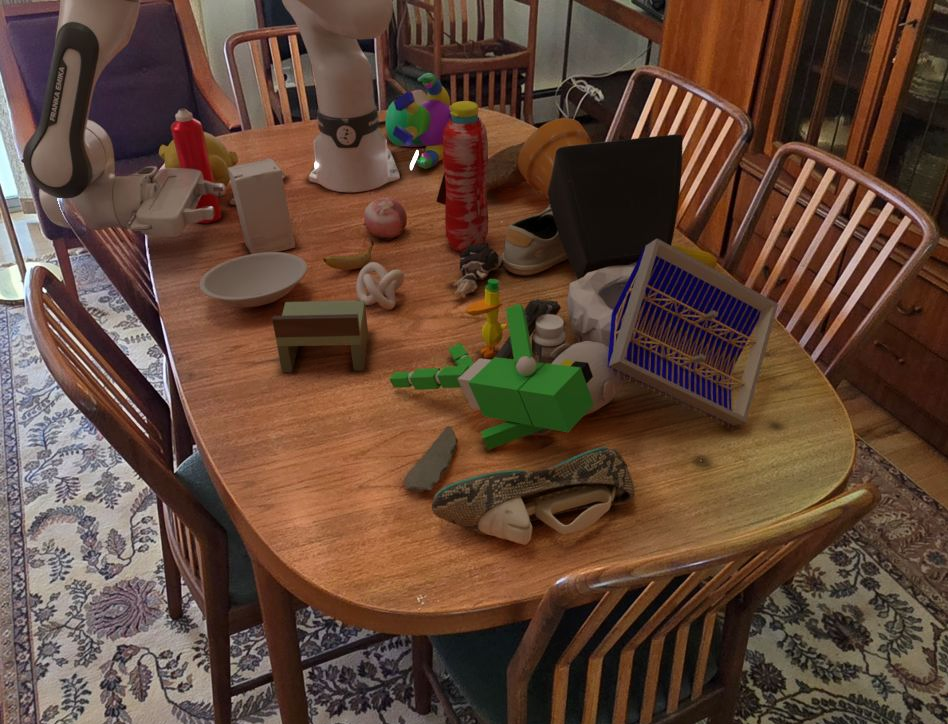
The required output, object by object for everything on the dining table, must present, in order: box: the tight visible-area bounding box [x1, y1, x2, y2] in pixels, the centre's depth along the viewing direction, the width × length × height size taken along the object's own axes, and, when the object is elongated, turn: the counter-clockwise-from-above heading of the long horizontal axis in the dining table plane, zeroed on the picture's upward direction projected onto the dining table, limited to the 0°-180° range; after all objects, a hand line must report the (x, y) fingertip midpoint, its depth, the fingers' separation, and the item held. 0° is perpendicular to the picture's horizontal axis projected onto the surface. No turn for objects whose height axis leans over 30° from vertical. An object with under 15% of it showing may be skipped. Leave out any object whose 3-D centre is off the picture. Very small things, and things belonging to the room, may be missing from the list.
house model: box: [607, 239, 779, 427], centre depth 115 cm, size 19×20×7 cm
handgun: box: [494, 298, 562, 359], centre depth 127 cm, size 19×2×12 cm
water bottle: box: [435, 100, 489, 253], centre depth 148 cm, size 12×8×25 cm, turn 36°
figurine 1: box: [385, 72, 452, 170], centre depth 181 cm, size 18×14×20 cm
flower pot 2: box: [547, 133, 683, 280], centre depth 135 cm, size 19×19×17 cm
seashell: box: [486, 141, 527, 193], centre depth 173 cm, size 19×9×15 cm
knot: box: [355, 261, 405, 310], centre depth 139 cm, size 8×8×6 cm
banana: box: [322, 239, 375, 271], centre depth 148 cm, size 10×2×4 cm, turn 128°
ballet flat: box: [431, 446, 635, 545], centre depth 100 cm, size 8×25×9 cm
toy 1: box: [388, 303, 594, 451], centre depth 113 cm, size 14×15×30 cm
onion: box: [363, 197, 408, 242], centre depth 157 cm, size 8×8×7 cm
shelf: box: [271, 300, 369, 373], centre depth 127 cm, size 10×12×9 cm
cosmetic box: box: [228, 157, 296, 254], centre depth 151 cm, size 8×6×15 cm
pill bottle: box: [531, 314, 566, 364], centre depth 123 cm, size 5×5×8 cm
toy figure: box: [465, 278, 508, 359], centre depth 125 cm, size 7×4×12 cm, turn 120°
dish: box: [199, 251, 308, 308], centre depth 139 cm, size 18×14×5 cm
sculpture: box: [158, 131, 239, 189], centre depth 168 cm, size 15×13×13 cm
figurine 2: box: [452, 242, 504, 300], centre depth 144 cm, size 7×6×15 cm
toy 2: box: [528, 341, 624, 437], centre depth 114 cm, size 10×15×10 cm, turn 131°
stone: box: [403, 425, 459, 494], centre depth 109 cm, size 13×2×5 cm
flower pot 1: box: [518, 117, 592, 198], centre depth 162 cm, size 14×14×13 cm
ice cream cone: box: [408, 89, 428, 105], centre depth 205 cm, size 5×5×15 cm
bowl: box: [566, 262, 637, 347], centre depth 127 cm, size 21×20×10 cm
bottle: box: [170, 108, 222, 224], centre depth 158 cm, size 5×5×20 cm
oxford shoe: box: [501, 204, 569, 276], centre depth 152 cm, size 11×29×8 cm, turn 137°
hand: (219, 200), depth 150 cm, fingers open, 8 cm apart
